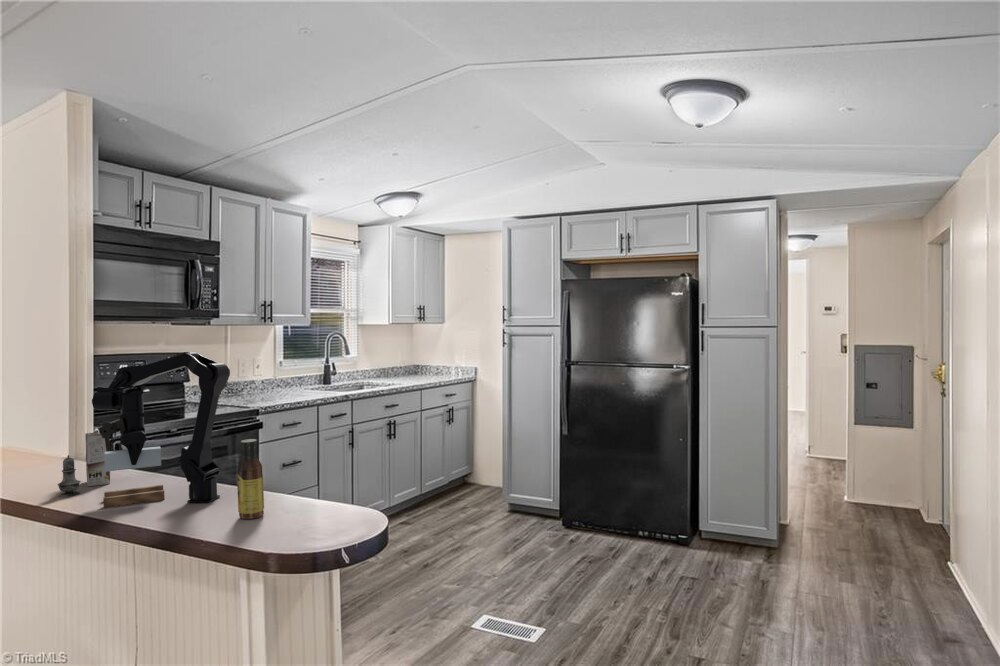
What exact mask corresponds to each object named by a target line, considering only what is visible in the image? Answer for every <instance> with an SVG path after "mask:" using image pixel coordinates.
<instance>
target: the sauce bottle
mask: <svg viewBox="0 0 1000 666" xmlns="http://www.w3.org/2000/svg"><path fill="white" fill-rule="evenodd" d="M239 442H240V443H239V444H240V445H239V446H240V450H241V452H240V453H241V456H240V462H239V465H238V467H237V470H236V483H237V484H236V485H237V510H238V514H239V515H238V516H239V518H240V519H241V520H255V519H258V518H260V517H263V515H264V512H265V511H264V509H265V498H264V497H265V496H264V491H265V490H264V474H263V466H262V463H261V461H260V460H259V458H258V452H257V451H258V448H257V447H258V439H255V438H249V439H243V440H241V441H239Z"/></svg>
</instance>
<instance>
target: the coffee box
mask: <svg viewBox="0 0 1000 666" xmlns="http://www.w3.org/2000/svg"><path fill="white" fill-rule="evenodd" d="M84 434H85V439H84V440H85V470H86V472H85V473H86V483H87V484H86V485H87V487H92V486H93V487H94V486H95V487H96V486H103V485H110V484H111V471H108V472H105V455H104V454H105V452H109V451H111V450H110V435H109V436H108V437H106V438H102V437H101V434H100V432H99V431H95V432H86V433H84Z"/></svg>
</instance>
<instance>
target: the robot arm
mask: <svg viewBox="0 0 1000 666" xmlns="http://www.w3.org/2000/svg"><path fill="white" fill-rule="evenodd" d="M184 368H187V369H188V371H190V372H191V373H192V374H193V375H194V376H197V377H198V387H199V389H200V390H199V391H200V400H199V403H198V409H197V413H196V418H195V424H194V428H193V432H192V433H193V434H192V438H191V442H190V444H188V445H186V446H185V447H182V448H181V450H180V451H181V452H180V457H179V458H180V459H179V460H178V463H180V470H181V471H182V472H183V474H184V477H185V479H186V481H187V483H189V484H188V499H187V501H186V502H187V503H188V504H190V503H192V504H193V503H196V504H197V503H211V502H213V501H215V500H217V499H218V498H220V497H221V495H220V494H218V485H217V484H218V481H217V480H218V479H217V476H219V475H220V472H221V467H220V466H219V465H218V464H217V463H216V462H215V461H214V460H213V450H212V447H211V438H212V432H213V427H214V424H215V418H216V413H217V408H218V405H219V404H218V403H219V398H220V395H221V393H222V392H223V391H224V389H225V387H226V386H227V384H228V382H229V379H230V375H231V370H230V368H229V367H228V365H227V364H225V363H223V362H218V361H216V360H213V359H211V358H208V357H205V356H204V355H201V354H200V353H199V352H196V351H183V352H182V353H180V354H177V355H173V356H170V357H166V358H164V359H161V360H157V361H153V362H150V363H147V364H141V365H140V364H139V365H130V366H121V367H119V368H118V369H117V370H116V371H117V372H116V374H115V377H114V378H113V380H112V382H111V383H110V384H109V386H103V385H102V386H97V388H96V392H94V394H93V396H92V399H91V404H92V407H93V409H95V410H96V411H117V410H119V409H120V414H119V418H118V419H115V420H113V421H105V422H103V423H102V425H100V426H97V431H98V432H100V434H101V437H102V438H106V437H108V436H109V437H110V436H112V435H114V434H116V433H118V432H119V433H120V435H119V436H120V437H119V442H120V445H122V446H123V447H124V448H126V450H128V453H129V457H130V460H131V464H132V465H136V464H137V461H138V458H139V456H140V453H141V451H142V448H144V445H145V443H146V442H147V439H146V438H147V437H146V435H147V434H146V429H145V428H146V427H145V412H144V394H145V395H146V394H150V393H151V390H150V389H149V388H148V387H146V385H143V384H145V383H147V382H149V381H151V380H152V379H153V378H155V377H157V376H160V375H164V374H167V373H171V372H174V371H176V370H181V369H184ZM136 386H137V387H136ZM134 387H135V388H134ZM124 390H125V391H124Z"/></svg>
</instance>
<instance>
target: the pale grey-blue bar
mask: <svg viewBox="0 0 1000 666" xmlns="http://www.w3.org/2000/svg"><path fill="white" fill-rule="evenodd" d="M104 455H105V472H108V471H110V472H116V471H123V470H126V471H127V470H133V469H144V468H150V467H158V466H159V467H160V466H162V448H161V446H160V445H159V446H151V447H143V448H142V451H141V453H140V456H139V458H138V461H137V464H136V465H132V464H131V460H130V457H129V453H128V449H122V450H119V449H118V450H110V451H109V452H105V454H104Z"/></svg>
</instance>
